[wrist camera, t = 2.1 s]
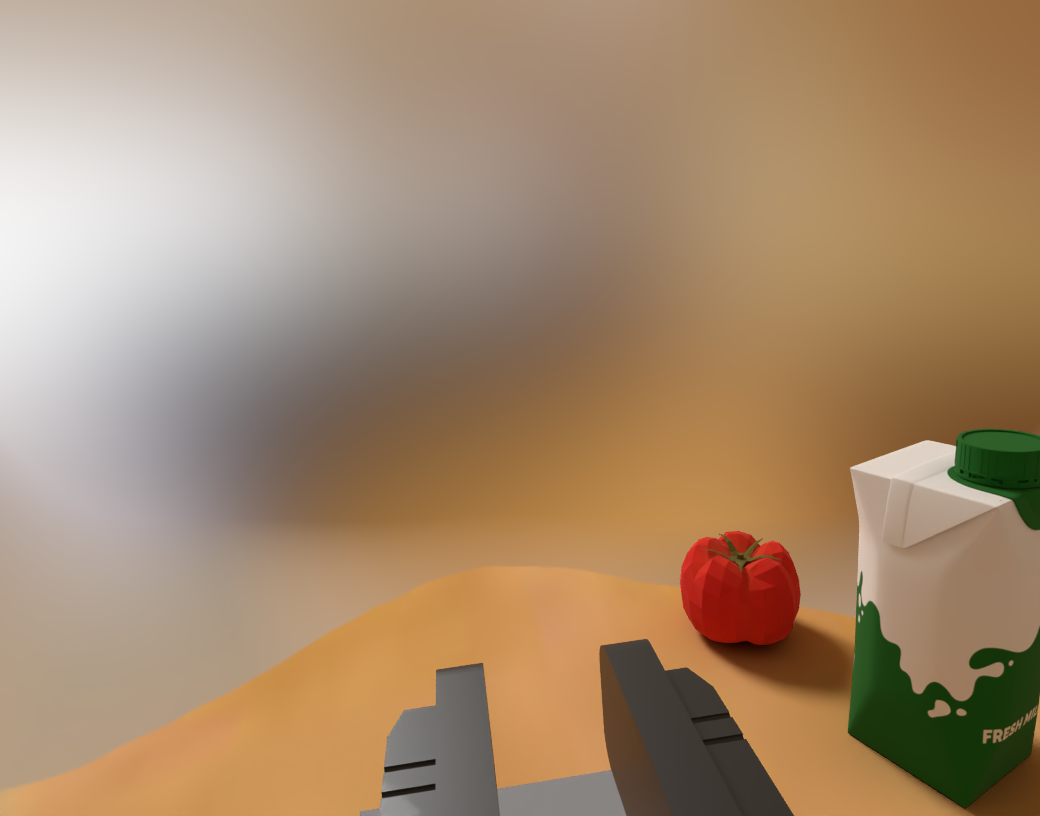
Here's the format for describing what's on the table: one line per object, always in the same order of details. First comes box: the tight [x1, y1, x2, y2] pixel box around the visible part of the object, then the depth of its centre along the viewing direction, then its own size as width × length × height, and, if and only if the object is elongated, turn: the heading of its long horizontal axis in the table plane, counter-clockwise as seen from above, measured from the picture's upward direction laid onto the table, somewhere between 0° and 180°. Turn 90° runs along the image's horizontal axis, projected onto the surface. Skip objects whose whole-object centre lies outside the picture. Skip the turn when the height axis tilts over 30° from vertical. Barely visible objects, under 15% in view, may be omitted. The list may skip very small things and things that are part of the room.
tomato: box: [680, 531, 800, 645], centre depth 53 cm, size 9×9×8 cm
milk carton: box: [848, 429, 1040, 808], centre depth 39 cm, size 9×9×20 cm
